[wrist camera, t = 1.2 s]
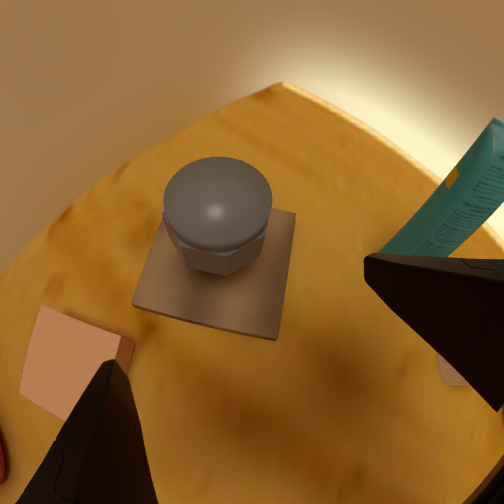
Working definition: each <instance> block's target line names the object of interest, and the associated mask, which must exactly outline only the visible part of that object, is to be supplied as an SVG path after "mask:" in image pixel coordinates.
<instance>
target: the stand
mask: <svg viewBox="0 0 504 504" xmlns="http://www.w3.org/2000/svg"><path fill="white" fill-rule="evenodd" d="M134 347H135V343H133V342H131V341H129V340H127V339H126V338H124V337H122V336H119V335H117V334H114V333H111V332H108V331H105V330H103V329H100V328H97V327H95V326H92V325H90V324H87V323H84V322H82V321H79V320H77V319H75V318H72V317H70V316H67V315H65V314H63V313H60V312H58V311H56V310H54V309H51V308H49V307H47V306H45V305H43V304H42V305H41V308H40V311H39V314H38V317H37V320H36V323H35V326H34V330H33V333H32V337H31V340H30V344H29V348H28V352H27V356H26V360H25V364H24V369H23V374H22V379H21V384H20V389H19V393H20V394H22V395H23V396H25V397H26V398H28V399H29V400H31V401H32V402H34V403H35V404H37V405H39V406H40V407H42V408H43V409H45V410H47V411H48V412H50V413H52V414H53V415H55V416H57V417H59V418H60V419H62V420H64V421H66V420H67V418H68V416H69V415H70V413H71V411H72V410H73V408H74V406H75V405H76V403H77V402H78V400H79V398H80V397H81V395H82V393H83V392H84V390H85V389H86V387H87V386H88V384H89V382H90V381H91V379H92V378H93V376H94V375H95V373H96V371H97V370H98V368H99V367H100V365H101V364H102V362H104V361H107V360H110V359H115V360H116V361H117V362H118V364H119V365H120V367H121V368H122V370H123V371H124V373H125V374H126V375H127V374H128V370H129V366H130V362H131V358H132V354H133V351H134Z"/></svg>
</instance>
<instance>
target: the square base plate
mask: <svg viewBox="0 0 504 504" xmlns="http://www.w3.org/2000/svg"><path fill="white" fill-rule="evenodd" d="M295 216H296V213H292V212H287V211H283V210H278V209H274V208H271V210H270V214H269V219H268V224H267V229H266V234H265V235H266V236H265V239H264V243H263V247H262V251H261V254H260V257H258V258H257V259H255V260H253V261H251V262H250V263H248V264H246V265H244V266H243V267H241V268H239V269H238V270H236V271H234V272H232V273H231V274H229V275H227V276H224V275H219V274H215V273H210V272H206V271H201V270H197V269H193V268H187V267H186V265H185V263H184V261H183V260H182V258H181V256H180V254H179V253H178V251H177V249H176V248H175V246H174V244H173V242H172V241H171V239H170V238H169V235H168V232H167V228H166V225H165V222H164V219H162V221H161V224H160V226H159V229H158V231H157V234H156V236H155V239H154V241H153V244H152V247H151V249H150V252H149V254H148V257H147V260H146V263H145V265H144V268H143V271H142V274H141V276H140V279H139V282H138V285H137V288H136V291H135V294H134V297H133V300H132V303H131V304H132V305H133V306H134V307H136V308H139V309H142V310H146V311H149V312H153V313H156V314H160V315H164V316H167V317H171V318H175V319H178V320H182V321H186V322H190V323H194V324H198V325H202V326H206V327H211V328H215V329H219V330H224V331H228V332H233V333H237V334H242V335H247V336H252V337H257V338H262V339H267V340H272V341H275V340H276V339H277V335H278V329H279V323H280V317H281V311H282V305H283V299H284V293H285V286H286V280H287V273H288V266H289V260H290V253H291V246H292V238H293V231H294V224H295Z"/></svg>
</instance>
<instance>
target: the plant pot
mask: <svg viewBox="0 0 504 504" xmlns="http://www.w3.org/2000/svg"><path fill="white" fill-rule="evenodd" d="M4 473H5V464H4V456H3V451H2V447H1V443H0V484H1V483H2V481H3V478H4Z"/></svg>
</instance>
